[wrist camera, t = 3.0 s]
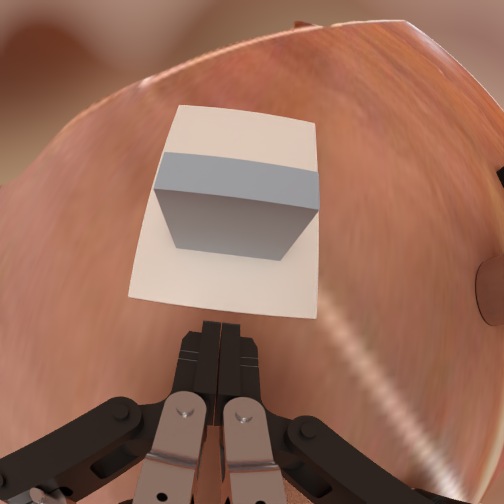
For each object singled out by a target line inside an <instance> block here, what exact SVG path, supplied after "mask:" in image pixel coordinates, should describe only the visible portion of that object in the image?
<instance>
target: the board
mask: <svg viewBox="0 0 504 504" xmlns="http://www.w3.org/2000/svg"><path fill="white" fill-rule="evenodd" d="M164 152H173V153H185V154H197V155H207V156H216V157H225V158H233V159H241V160H248V161H256V162H262V163H269V164H275V165H281V166H287V167H293V168H299V169H304V170H309V171H315V172H317V150H316V133H315V123H311V122H306V121H301V120H296V119H291V118H286V117H280V116H275V115H269V114H262V113H256V112H249V111H241V110H233V109H224V108H214V107H202V106H188V105H179V107H178V110H177V112H176V115H175V118H174V121H173V123H172V126H171V129H170V132H169V135H168V138H167V141H166V144H165V147H164V150H163V153H162V156H161V159H160V162H159V165H158V169H157V172H156V175H155V179H154V182H153V186H152V189H151V193H150V197H149V200H148V204H147V208H146V212H145V216H144V220H143V224H142V228H141V233H140V237H139V241H138V246H137V251H136V256H135V260H134V266H133V271H132V276H131V282H130V288H129V294H128V297H129V298H133V299H139V300H145V301H151V302H158V303H164V304H171V305H178V306H185V307H193V308H200V309H208V310H216V311H225V312H234V313H243V314H253V315H264V316H275V317H287V318H301V319H316V317H317V294H318V256H319V211H318V213H317V214H316V215H315V217H314V218H313V219H312V221H311V222H310V223H309V224H308V226H307V227H306V228H305V230H304V231H303V232H302V234H301V235H300V236H299V237H298V239H297V240H296V241H295V243H294V244H293V245H292V247H291V248H290V249H289V250H288V252H287V253H286V254H285V256H284V257H283V258H282V259H281V261H277V260H269V259H260V258H252V257H244V256H236V255H227V254H219V253H211V252H203V251H195V250H187V249H179V248H176V247H175V244H174V242H173V239H172V237H171V234H170V232H169V229H168V226H167V224H166V221H165V219H164V216H163V213H162V211H161V208H160V205H159V203H158V200H157V197H156V194H155V192H154V189H153V188H154V185H155V181H156V178H157V174H158V171H159V167H160V164H161V161H162V158H163V155H164Z"/></svg>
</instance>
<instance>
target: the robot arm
mask: <svg viewBox="0 0 504 504" xmlns="http://www.w3.org/2000/svg"><path fill="white" fill-rule="evenodd" d="M476 294H477V301H478V305H479V309H480V312H481V314H482V316H483V318H484V319H485V321H486V322H487V323H488V324H490V325H492V326H496V325H501V324H504V253H503V254H501V255H498V256H496V257H494V258H492V259H489V260H487V261H485V262H483V263H482V264H481V266H480V268H479V270H478V273H477V279H476ZM220 329H221V322H212V321H203V327H202V333H199V332H192V331H189V332H188V334H187V335H186V336H185V337H184V338H183V339H182V344H181V349H180V353H179V359H178V363H177V368H176V373H175V377H174V382H173V388H172V391H171V393H170V395H169V396H168V397H167V398H166V399H165V400H163V401H161V402H159V403H155V404H147V405H138V404H137V403H136V402H135V401H133V400H132V399H129V398H126V397H114V398H111V399H109V400H107V401H106V402H104V403H102V404H101V405H99V406H97V407H96V408H94V409H92V410H91V411H89V412H87V413H85V414H84V415H82V416H80V417H78V418H77V419H75V420H73V421H71V422H70V423H68V424H66V425H64V426H62V427H61V428H59V429H57V430H55V431H53V432H51V433H50V434H48V435H46V436H44V437H42V438H40V439H38V440H37V441H35V442H33V443H31V444H29V445H27V446H25V447H23V448H21V449H19V450H17V451H15V452H13V453H11V454H9V455H7V456H5V457H3V458H1V459H0V500H2V501H4V502H6V503H7V504H76V502H77V501H79V500H81V499H83V498H84V497H86V496H88V495H89V494H91V493H93V492H94V491H96V490H98V489H99V488H101V487H103V486H104V485H106V484H107V483H109V482H110V481H112V480H114V479H115V478H117V477H118V476H120V475H121V474H123V473H124V472H126V471H127V470H129V469H130V468H132V467H133V466H134V465H136V464H137V463H139V462H140V461H142V460H143V459H144V458H145V459H144V461H143V465H142V469H141V472H140V476H139V480H138V483H137V487H136V491H135V495H134V499H130V500H126V501H123V502H121V503H119V504H195V503H196V496H197V488H198V479H199V473H200V467H201V460H202V454H203V448H204V443H205V441H206V437H207V425H212V424H213V415H214V406H215V419H214V426H220V431H219V442H218V447H219V463H220V478H221V504H287V500H286V495H285V489H284V484H283V479H282V476H283V477H284V478H285V479H286V480H287V481H288V482H289V483H290V484H291V485H293V486H294V487H295V488H296V489H297V490H298V491H299V492H301V493H302V494H303V495H304V496H305V497H307V498H308V499H309V500H310V501H311V502H313V503H314V504H435V503H434V502H432V501H431V500H429V499H427V498H426V497H424V496H423V495H421V494H419V493H418V492H416V491H415V490H413V489H412V488H410V487H409V486H407V485H406V484H404V483H403V482H401V481H400V480H398V479H397V478H395V477H394V476H392V475H391V474H390V473H388V472H387V471H385V470H384V469H382V468H381V467H380V466H378V465H377V464H376V463H374V462H373V461H371V460H370V459H369V458H367V457H366V456H365V455H363V454H362V453H361V452H359V451H358V450H357V449H356V448H354V447H353V446H352V445H350V444H349V443H348V442H347V441H345V440H344V439H343V438H342V437H340V436H339V435H338V434H337V433H335V432H334V431H333V430H332V429H330V428H329V427H328V426H327V425H325V424H324V423H323V422H322V421H321V420H319V419H317V418H316V417H313V416H299V417H297V418H295V419H293V420H290V419H287V418H283V417H280V416H277V415H274V414H272V413H271V412H269V411H268V410H267V409H266V408H265V407H264V405H263V403H262V401H261V396H260V381H259V368H258V351H257V346H256V344H255V343H254V341H253V339H252V338H247V337H240V324H231V323H222V330H221V339H220ZM219 341H220V348H219ZM218 355H219V358H218ZM217 368H218V372H217ZM216 383H217V386H216ZM215 396H216V402H215Z"/></svg>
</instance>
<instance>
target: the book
mask: <svg viewBox="0 0 504 504" xmlns="http://www.w3.org/2000/svg"><path fill="white" fill-rule="evenodd" d="M496 173H497V175H498V177H499V179H500V181H501V183H502V186H503V188H504V167H502V168H501V169H500V170H499V171H497V172H496Z"/></svg>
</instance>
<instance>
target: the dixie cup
mask: <svg viewBox="0 0 504 504" xmlns="http://www.w3.org/2000/svg"><path fill="white" fill-rule="evenodd" d="M412 489H413V490H415V491H416V492H418V493H419V494H421V495H423V496H424V497H426V498H427V499H429V500H431V501H432V502H434V503H435V504H471V503H466V502H462V501H458V500H454V499H451V498H447V497H444V496H440V495H437V494H434V493H431V492H428V491H425V490H422V489H414V488H412Z"/></svg>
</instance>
